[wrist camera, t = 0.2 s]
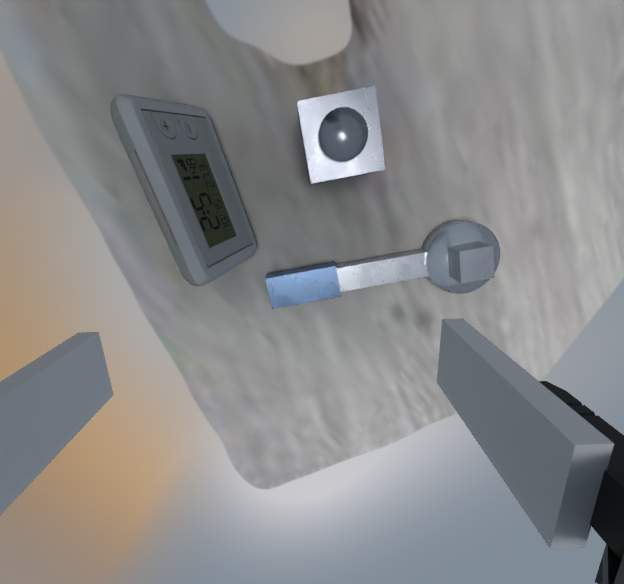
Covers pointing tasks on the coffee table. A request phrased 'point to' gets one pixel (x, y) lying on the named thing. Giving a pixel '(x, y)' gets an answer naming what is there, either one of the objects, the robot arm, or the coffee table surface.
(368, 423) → the coffee table surface
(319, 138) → the socket
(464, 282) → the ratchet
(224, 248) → the digital clock
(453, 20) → the coffee table surface
